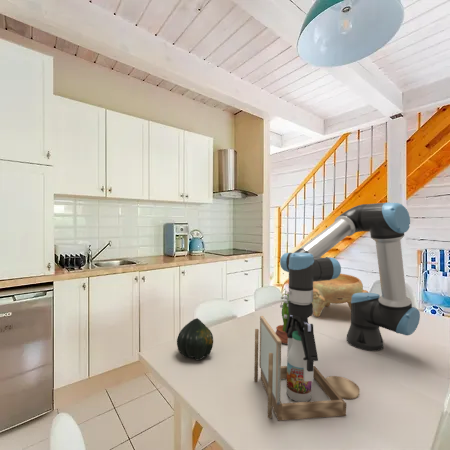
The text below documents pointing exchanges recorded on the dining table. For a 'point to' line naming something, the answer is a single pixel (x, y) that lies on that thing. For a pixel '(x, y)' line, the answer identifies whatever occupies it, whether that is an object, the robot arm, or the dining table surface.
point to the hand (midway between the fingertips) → (299, 368)
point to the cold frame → (309, 409)
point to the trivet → (344, 387)
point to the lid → (268, 345)
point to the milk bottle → (297, 372)
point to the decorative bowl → (335, 292)
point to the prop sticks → (270, 373)
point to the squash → (195, 340)
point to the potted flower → (285, 314)
